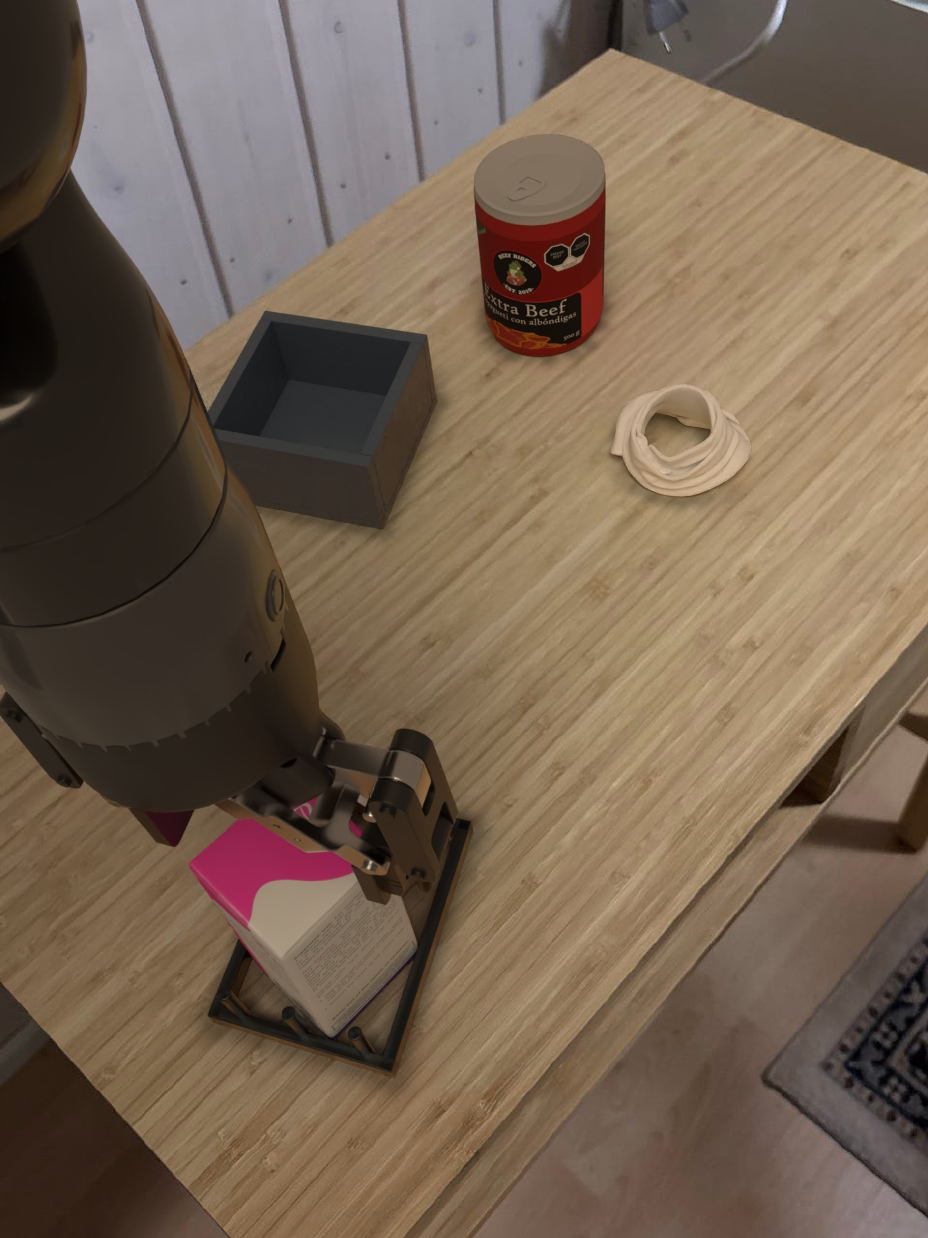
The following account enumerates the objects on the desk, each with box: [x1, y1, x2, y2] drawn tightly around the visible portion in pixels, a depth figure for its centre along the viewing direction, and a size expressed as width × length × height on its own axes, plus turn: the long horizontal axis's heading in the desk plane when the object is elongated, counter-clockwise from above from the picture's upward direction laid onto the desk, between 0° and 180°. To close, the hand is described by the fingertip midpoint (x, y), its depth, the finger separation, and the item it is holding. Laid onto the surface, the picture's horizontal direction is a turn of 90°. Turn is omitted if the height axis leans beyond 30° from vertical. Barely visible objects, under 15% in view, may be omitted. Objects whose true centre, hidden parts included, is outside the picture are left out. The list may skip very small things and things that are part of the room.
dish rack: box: [207, 802, 474, 1079], centre depth 53 cm, size 12×9×4 cm
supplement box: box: [188, 796, 419, 1041], centre depth 49 cm, size 6×6×12 cm
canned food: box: [473, 133, 607, 357], centre depth 71 cm, size 8×8×11 cm
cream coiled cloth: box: [609, 383, 752, 497], centre depth 67 cm, size 8×7×5 cm
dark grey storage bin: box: [207, 310, 438, 530], centre depth 69 cm, size 11×11×6 cm
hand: (281, 850), depth 43 cm, fingers open, 8 cm apart
